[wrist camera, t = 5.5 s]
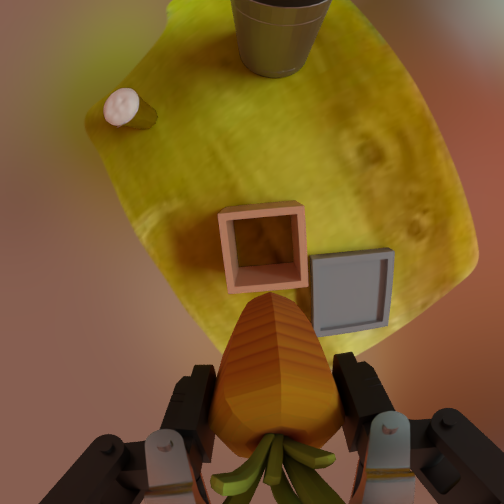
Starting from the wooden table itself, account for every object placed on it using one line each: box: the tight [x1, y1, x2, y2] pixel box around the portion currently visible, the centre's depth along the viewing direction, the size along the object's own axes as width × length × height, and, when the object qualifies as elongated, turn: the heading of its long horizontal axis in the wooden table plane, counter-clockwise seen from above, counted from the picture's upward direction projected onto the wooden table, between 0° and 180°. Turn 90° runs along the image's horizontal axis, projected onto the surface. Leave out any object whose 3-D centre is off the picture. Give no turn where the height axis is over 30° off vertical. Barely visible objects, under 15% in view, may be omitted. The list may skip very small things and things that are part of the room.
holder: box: [218, 200, 308, 294], centre depth 33 cm, size 9×9×7 cm
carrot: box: [208, 292, 345, 504], centre depth 11 cm, size 5×5×15 cm
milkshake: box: [104, 88, 158, 129], centre depth 27 cm, size 4×5×10 cm
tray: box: [310, 248, 394, 337], centre depth 37 cm, size 12×12×2 cm
